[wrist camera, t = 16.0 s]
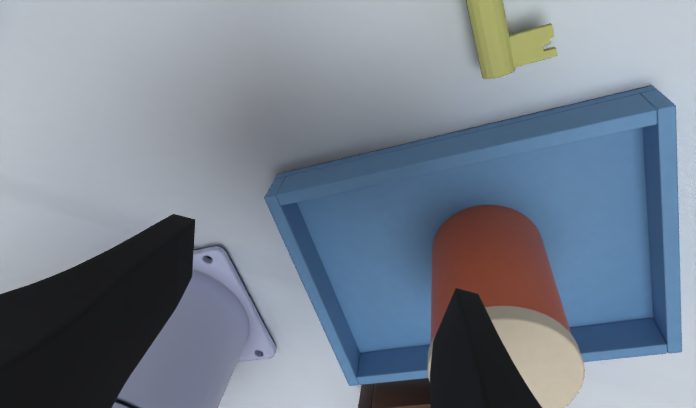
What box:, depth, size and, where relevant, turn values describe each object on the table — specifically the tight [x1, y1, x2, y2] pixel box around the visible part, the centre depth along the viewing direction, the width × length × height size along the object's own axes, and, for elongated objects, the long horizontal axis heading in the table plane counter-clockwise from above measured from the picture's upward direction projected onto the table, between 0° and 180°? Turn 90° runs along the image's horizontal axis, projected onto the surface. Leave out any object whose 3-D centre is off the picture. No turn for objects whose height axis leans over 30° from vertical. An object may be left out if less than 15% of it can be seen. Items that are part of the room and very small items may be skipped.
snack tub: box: [427, 205, 585, 408], centre depth 21 cm, size 5×5×8 cm
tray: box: [264, 86, 682, 386], centre depth 24 cm, size 16×12×2 cm
